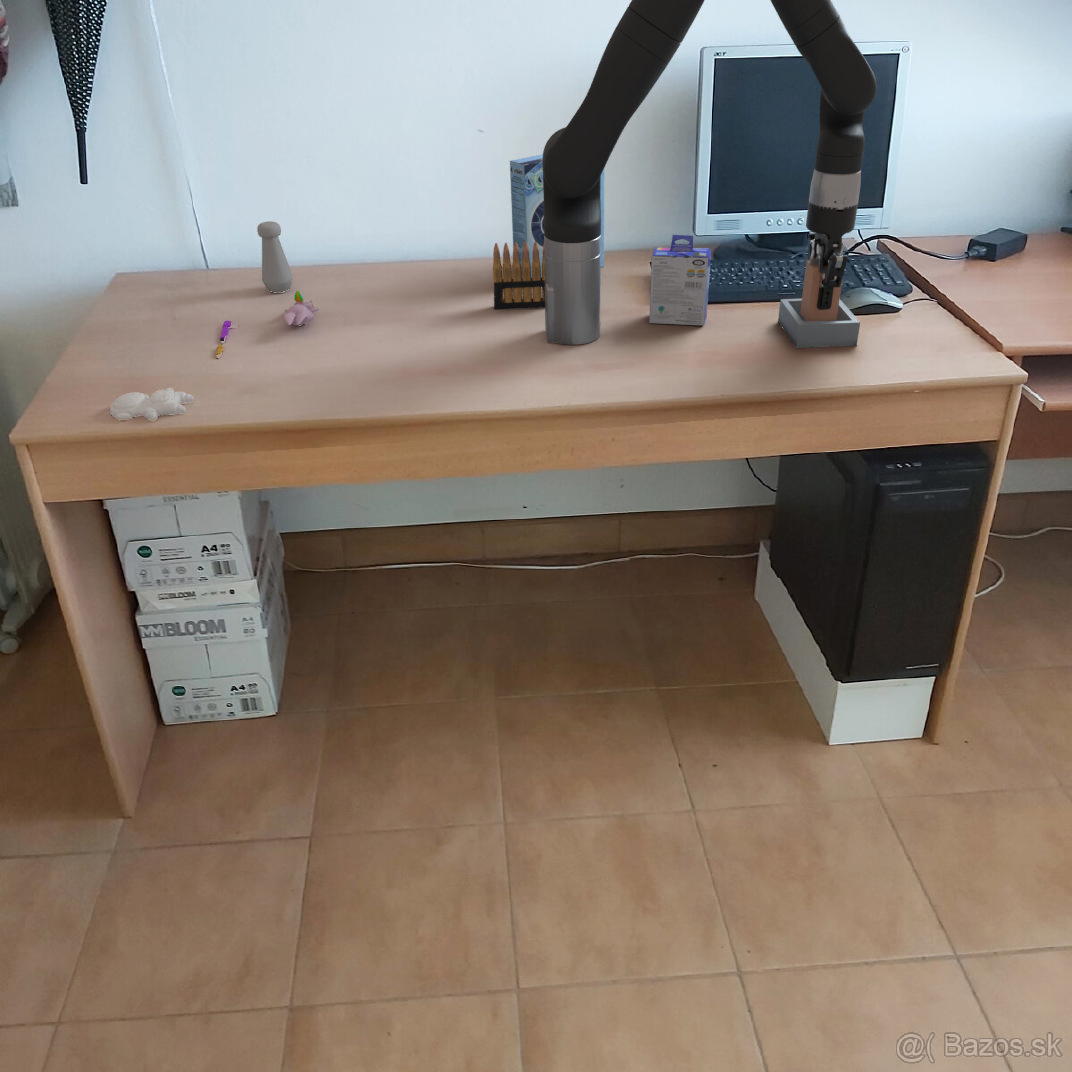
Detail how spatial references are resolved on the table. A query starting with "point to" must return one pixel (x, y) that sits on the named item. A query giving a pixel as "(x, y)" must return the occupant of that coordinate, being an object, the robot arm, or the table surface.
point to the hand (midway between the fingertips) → (819, 303)
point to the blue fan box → (534, 206)
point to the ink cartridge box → (679, 283)
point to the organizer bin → (818, 326)
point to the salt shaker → (274, 258)
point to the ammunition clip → (518, 279)
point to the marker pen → (223, 335)
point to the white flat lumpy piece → (149, 404)
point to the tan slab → (811, 295)
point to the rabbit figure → (299, 311)
